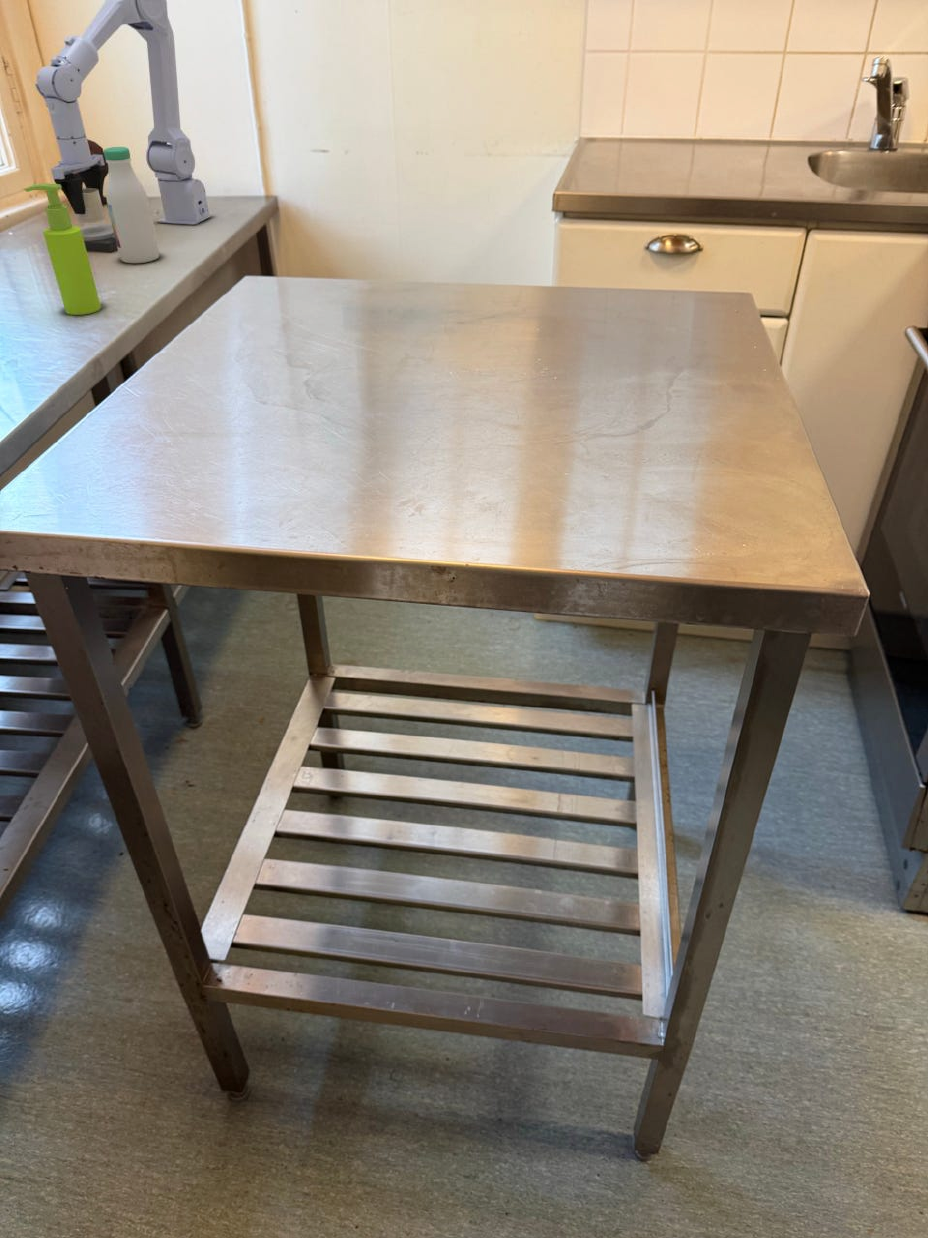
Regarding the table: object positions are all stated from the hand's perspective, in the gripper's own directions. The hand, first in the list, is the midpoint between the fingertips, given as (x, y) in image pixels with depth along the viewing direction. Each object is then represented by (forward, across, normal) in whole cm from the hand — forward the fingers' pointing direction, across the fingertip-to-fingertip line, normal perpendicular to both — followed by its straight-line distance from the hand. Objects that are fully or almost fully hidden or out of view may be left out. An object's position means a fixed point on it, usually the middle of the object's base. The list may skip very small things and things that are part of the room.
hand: (89, 209), depth 186 cm
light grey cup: (+2, 0, 0) cm, 2 cm away
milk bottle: (+7, +8, +15) cm, 19 cm away
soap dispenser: (+7, +38, +22) cm, 45 cm away
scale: (+7, 0, 0) cm, 7 cm away
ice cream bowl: (+7, -33, -23) cm, 41 cm away
